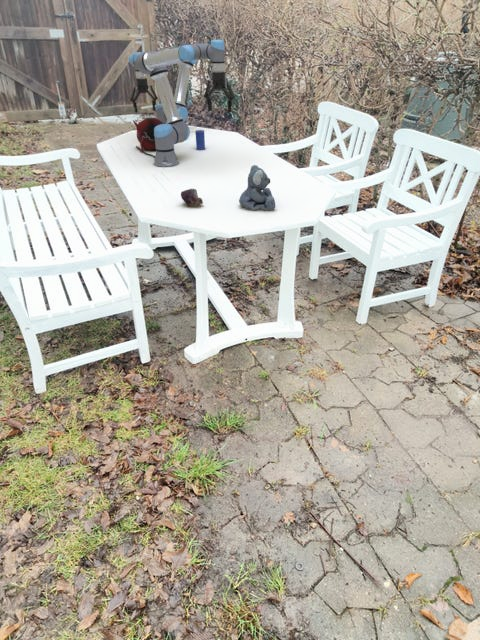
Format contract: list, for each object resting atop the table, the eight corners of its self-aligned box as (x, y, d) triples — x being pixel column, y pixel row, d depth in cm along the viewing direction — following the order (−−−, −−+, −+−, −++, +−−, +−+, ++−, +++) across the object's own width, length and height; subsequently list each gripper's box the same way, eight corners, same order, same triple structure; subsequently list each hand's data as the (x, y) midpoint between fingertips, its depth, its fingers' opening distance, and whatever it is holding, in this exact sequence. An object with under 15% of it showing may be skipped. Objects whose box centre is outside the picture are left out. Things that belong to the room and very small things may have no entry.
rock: (196, 202, 238) (178, 205, 233) (194, 185, 234) (176, 188, 230) (205, 205, 228) (187, 208, 224) (203, 188, 224) (185, 191, 220)
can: (204, 150, 323) (203, 131, 315) (195, 150, 323) (194, 131, 316) (205, 148, 328) (204, 130, 321) (197, 147, 328) (196, 129, 321)
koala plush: (276, 211, 223) (277, 171, 212) (240, 212, 222) (240, 172, 211) (271, 199, 237) (272, 161, 226) (237, 200, 236) (237, 162, 225)
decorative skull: (136, 123, 331) (129, 120, 308) (167, 116, 330) (163, 112, 307) (144, 153, 338) (138, 152, 315) (174, 146, 337) (171, 145, 314)
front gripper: (240, 71, 255) (241, 112, 267) (203, 69, 265) (205, 109, 277) (234, 73, 250) (235, 114, 262) (196, 71, 259) (198, 111, 272)
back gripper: (126, 79, 304) (130, 113, 316) (160, 77, 314) (163, 110, 326) (122, 78, 309) (127, 112, 321) (156, 76, 320) (159, 108, 332)
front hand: (219, 111), depth 269 cm, fingers open, 13 cm apart
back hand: (145, 111), depth 324 cm, fingers open, 13 cm apart
